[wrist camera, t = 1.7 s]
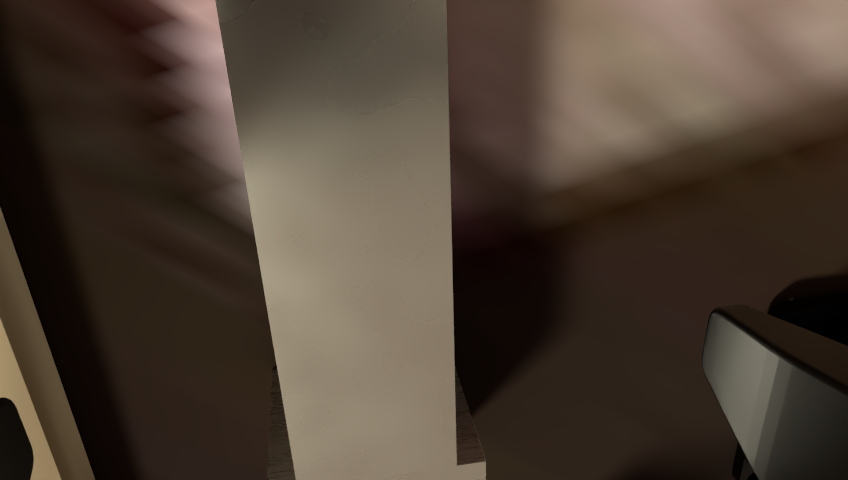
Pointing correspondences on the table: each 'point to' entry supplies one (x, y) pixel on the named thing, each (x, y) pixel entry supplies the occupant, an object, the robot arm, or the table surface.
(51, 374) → the beige wooden board
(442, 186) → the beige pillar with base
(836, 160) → the table surface
